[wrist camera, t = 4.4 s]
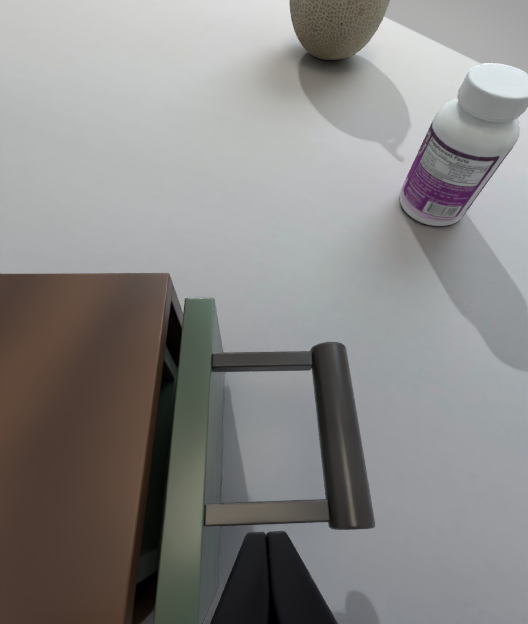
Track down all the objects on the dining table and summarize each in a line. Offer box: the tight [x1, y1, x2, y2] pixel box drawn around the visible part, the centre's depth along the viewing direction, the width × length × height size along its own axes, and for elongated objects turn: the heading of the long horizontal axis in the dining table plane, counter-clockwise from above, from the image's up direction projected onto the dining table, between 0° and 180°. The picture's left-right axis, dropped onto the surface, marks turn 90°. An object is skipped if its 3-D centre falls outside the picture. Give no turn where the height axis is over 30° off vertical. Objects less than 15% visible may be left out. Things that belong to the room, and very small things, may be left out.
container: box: [136, 298, 375, 624], centre depth 14 cm, size 18×10×7 cm, turn 92°
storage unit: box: [0, 273, 183, 624], centre depth 14 cm, size 14×12×9 cm
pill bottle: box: [400, 63, 528, 226], centre depth 24 cm, size 5×5×10 cm
